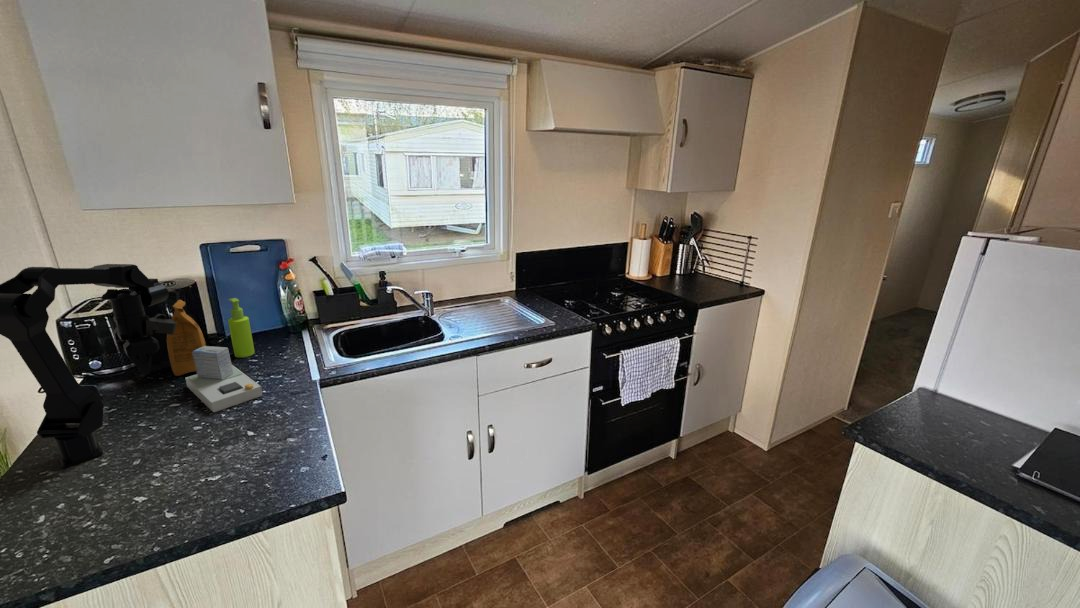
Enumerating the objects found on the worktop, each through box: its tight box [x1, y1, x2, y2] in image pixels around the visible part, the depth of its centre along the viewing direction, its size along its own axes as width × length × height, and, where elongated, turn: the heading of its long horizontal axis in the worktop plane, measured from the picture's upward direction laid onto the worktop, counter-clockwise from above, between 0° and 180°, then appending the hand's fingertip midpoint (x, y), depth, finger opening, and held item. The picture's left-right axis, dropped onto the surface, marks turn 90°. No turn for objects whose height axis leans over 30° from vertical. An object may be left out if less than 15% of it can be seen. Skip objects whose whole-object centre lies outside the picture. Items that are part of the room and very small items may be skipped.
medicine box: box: [192, 345, 233, 379], centre depth 128 cm, size 8×4×9 cm, turn 85°
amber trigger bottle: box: [166, 299, 207, 377], centre depth 138 cm, size 10×12×22 cm
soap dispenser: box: [227, 297, 256, 358], centre depth 149 cm, size 6×7×20 cm
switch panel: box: [185, 364, 263, 413], centre depth 127 cm, size 22×12×4 cm, turn 52°
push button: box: [219, 382, 241, 395], centre depth 123 cm, size 4×4×3 cm
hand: (142, 369), depth 114 cm, fingers open, 9 cm apart
